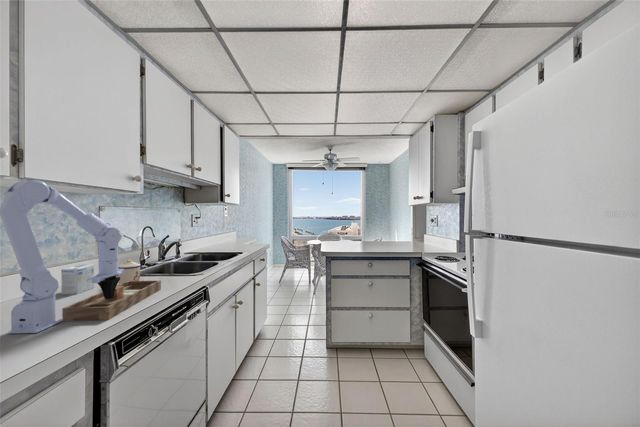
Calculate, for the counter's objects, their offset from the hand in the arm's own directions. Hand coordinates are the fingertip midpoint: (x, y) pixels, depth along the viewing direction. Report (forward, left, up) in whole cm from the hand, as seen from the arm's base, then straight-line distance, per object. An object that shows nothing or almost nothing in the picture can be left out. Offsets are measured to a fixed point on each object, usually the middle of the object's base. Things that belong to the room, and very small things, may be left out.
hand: (108, 298), depth 104 cm
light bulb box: (+25, +28, -4) cm, 37 cm away
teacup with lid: (+37, +13, -4) cm, 39 cm away
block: (+3, 0, -1) cm, 4 cm away
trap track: (+7, 0, -4) cm, 8 cm away
